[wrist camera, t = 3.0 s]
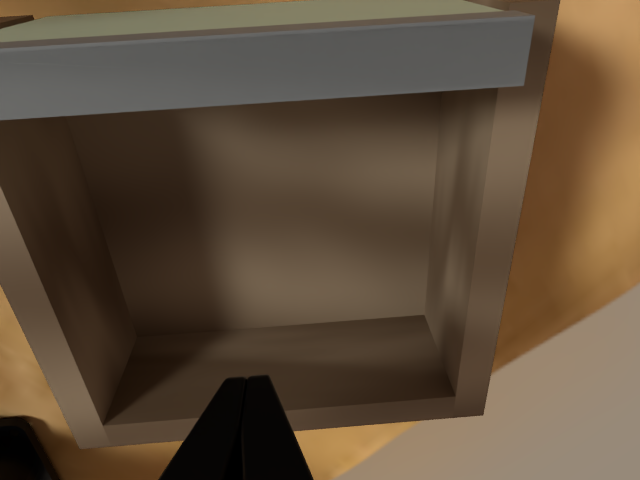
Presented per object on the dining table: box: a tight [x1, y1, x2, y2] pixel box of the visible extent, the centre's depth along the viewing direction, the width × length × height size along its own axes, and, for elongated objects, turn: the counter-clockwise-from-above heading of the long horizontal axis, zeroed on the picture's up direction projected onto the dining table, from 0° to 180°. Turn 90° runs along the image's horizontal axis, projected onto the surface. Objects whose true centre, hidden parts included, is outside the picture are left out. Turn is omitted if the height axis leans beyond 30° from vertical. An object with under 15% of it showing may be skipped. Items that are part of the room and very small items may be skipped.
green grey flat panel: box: [0, 0, 535, 120], centre depth 10 cm, size 1×10×6 cm, turn 93°
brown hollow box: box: [0, 0, 560, 449], centre depth 15 cm, size 12×13×5 cm
